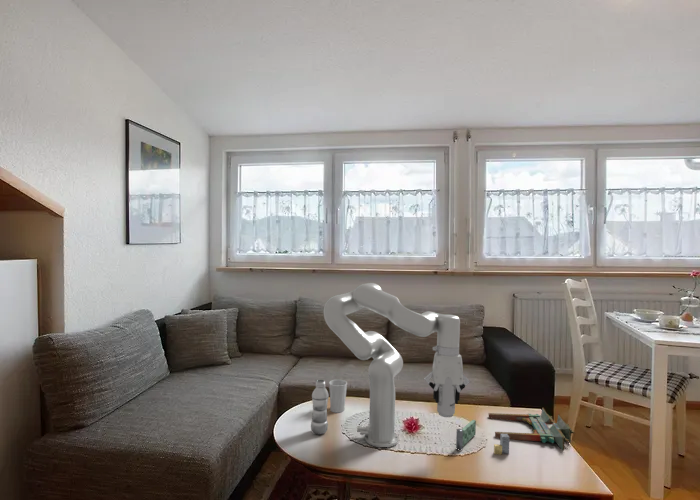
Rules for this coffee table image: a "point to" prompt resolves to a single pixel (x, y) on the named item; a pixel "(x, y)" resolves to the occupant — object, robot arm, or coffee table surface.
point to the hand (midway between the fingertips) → (446, 401)
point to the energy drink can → (446, 399)
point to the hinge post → (459, 439)
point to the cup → (337, 395)
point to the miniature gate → (538, 428)
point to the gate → (469, 431)
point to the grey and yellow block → (502, 445)
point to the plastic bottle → (319, 408)
